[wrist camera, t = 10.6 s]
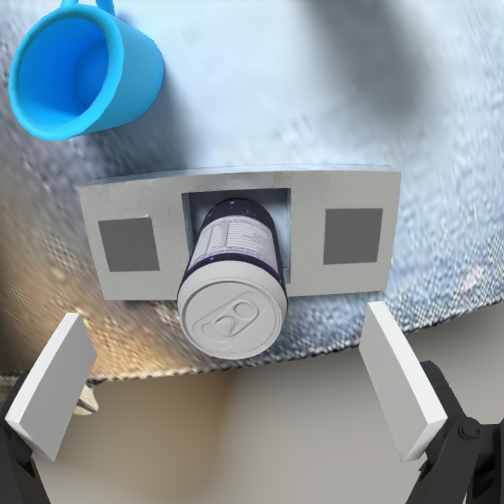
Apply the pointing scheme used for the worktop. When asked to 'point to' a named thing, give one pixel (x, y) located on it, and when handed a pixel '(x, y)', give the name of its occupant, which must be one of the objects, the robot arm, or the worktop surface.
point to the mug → (83, 72)
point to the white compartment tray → (236, 178)
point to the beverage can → (234, 283)
